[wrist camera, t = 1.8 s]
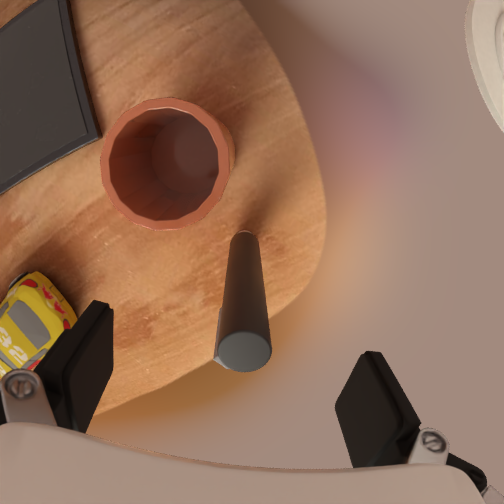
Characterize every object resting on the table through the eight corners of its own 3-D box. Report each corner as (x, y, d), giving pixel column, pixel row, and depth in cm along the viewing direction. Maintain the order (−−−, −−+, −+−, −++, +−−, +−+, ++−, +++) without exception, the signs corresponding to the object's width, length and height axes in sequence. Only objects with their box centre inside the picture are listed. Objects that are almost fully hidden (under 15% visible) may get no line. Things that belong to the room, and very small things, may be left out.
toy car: (-21, 329, 27) (-43, 351, 22) (42, 250, 23) (10, 273, 19) (20, 377, 29) (2, 403, 24) (97, 318, 26) (74, 350, 21)
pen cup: (187, 93, 20) (157, 71, 12) (253, 151, 21) (258, 159, 14) (131, 160, 21) (78, 174, 14) (194, 216, 23) (170, 256, 15)
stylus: (243, 221, 23) (242, 320, 11) (263, 239, 24) (283, 351, 11) (221, 245, 24) (199, 359, 11) (241, 262, 24) (239, 385, 12)
